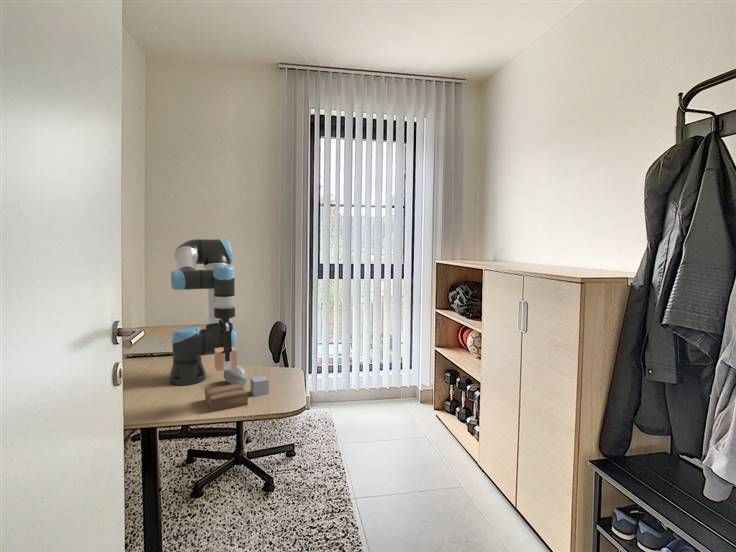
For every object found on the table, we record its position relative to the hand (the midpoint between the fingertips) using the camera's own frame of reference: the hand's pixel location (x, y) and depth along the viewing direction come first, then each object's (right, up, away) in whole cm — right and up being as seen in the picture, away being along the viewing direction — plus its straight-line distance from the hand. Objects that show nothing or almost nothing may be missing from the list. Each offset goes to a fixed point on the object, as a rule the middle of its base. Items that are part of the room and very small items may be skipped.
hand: (225, 366), depth 163 cm
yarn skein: (-3, -13, +21) cm, 25 cm away
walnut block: (0, -15, +1) cm, 15 cm away
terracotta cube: (0, 0, 0) cm, 0 cm away
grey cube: (+10, -13, +12) cm, 21 cm away
